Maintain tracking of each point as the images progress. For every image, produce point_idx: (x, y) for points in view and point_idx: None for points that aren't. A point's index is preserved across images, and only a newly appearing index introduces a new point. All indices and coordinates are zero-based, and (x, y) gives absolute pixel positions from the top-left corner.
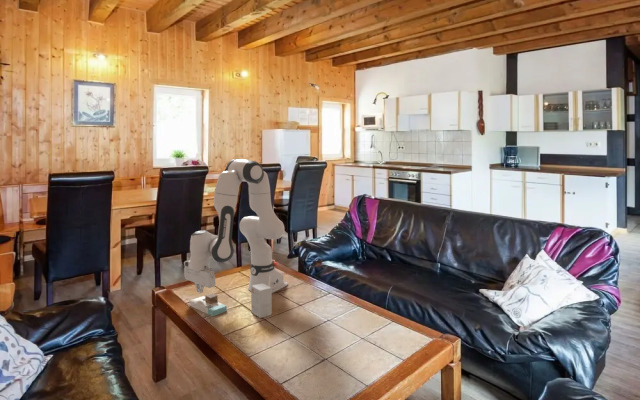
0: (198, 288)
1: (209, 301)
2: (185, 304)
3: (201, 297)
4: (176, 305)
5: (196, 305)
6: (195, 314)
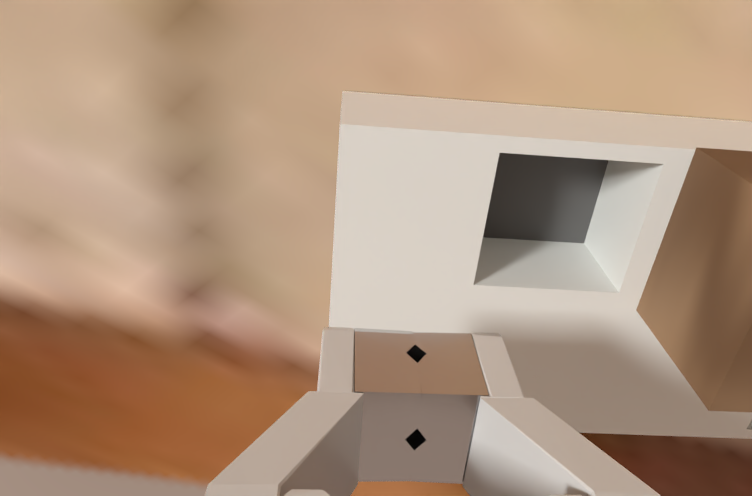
0: (377, 455)
1: None
2: (241, 368)
3: (381, 215)
4: (181, 449)
5: None
6: (635, 459)
